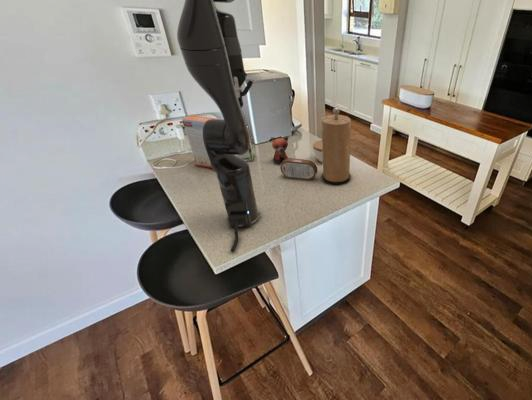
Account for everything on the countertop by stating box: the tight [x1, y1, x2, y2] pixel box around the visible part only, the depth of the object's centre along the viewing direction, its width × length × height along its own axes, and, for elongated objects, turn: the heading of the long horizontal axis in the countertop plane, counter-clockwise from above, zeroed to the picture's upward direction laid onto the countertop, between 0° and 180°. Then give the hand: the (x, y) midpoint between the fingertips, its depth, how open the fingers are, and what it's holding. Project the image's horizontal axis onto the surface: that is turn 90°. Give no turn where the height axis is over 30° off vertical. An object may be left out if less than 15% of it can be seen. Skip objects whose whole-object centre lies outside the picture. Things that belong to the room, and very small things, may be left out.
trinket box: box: [312, 139, 323, 164], centre depth 129 cm, size 11×11×9 cm
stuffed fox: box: [270, 136, 290, 165], centre depth 126 cm, size 8×11×12 cm
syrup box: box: [238, 125, 254, 162], centre depth 125 cm, size 6×6×14 cm
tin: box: [280, 157, 318, 181], centre depth 114 cm, size 15×3×8 cm, turn 84°
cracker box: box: [181, 114, 218, 169], centre depth 116 cm, size 14×6×21 cm, turn 74°
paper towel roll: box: [321, 106, 352, 186], centre depth 110 cm, size 12×12×30 cm
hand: (239, 107), depth 98 cm, fingers closed
